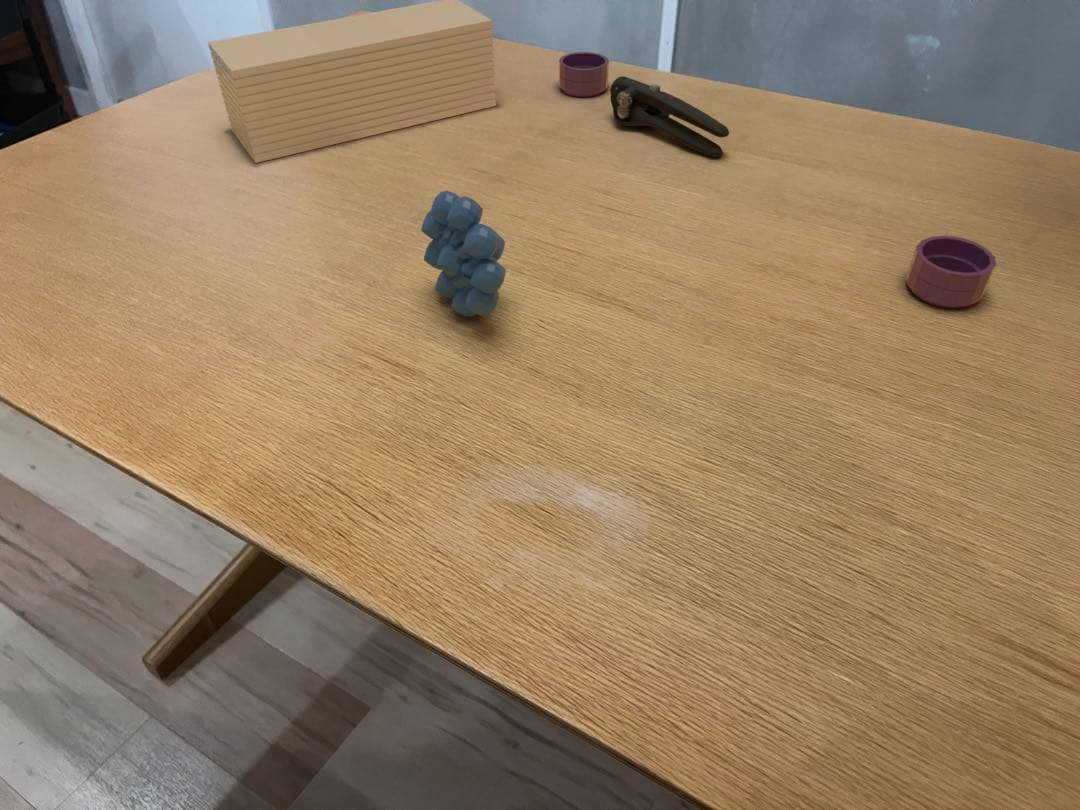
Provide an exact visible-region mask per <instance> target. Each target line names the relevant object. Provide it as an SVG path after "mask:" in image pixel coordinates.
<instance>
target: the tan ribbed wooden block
mask: <svg viewBox="0 0 1080 810" xmlns="http://www.w3.org/2000/svg"><path fill="white" fill-rule="evenodd" d="M492 28H493V20H492V19H491V18H489V17H488V16H486V15H484V14H482V13H481V12H479V11H477V10H476V9H474V8H472V7H470V6H469V5H467V4H466V3H463V2H462V1H460V0H435V1H429V2H424V3H417V4H412V5H407V6H402V7H395V8H390V9H385V10H379V11H373V12H368V13H362V14H357V15H351V16H346V17H340V18H335V19H330V20H323V21H317V22H312V23H308V24H307V23H306V24H301V25H296V26H295V25H294V26H289V27H286V28H278V29H274V30H273V29H272V30H268V31H263V32H257V33H250V34H245V35H241V36H234V37H229V38H224V39H223V38H222V39H217V40H212V41H207V44H208V48H209V51H210V55H211V59H212V63H213V66H214V70H215V74H216V77H217V81H218V84H219V89H220V91H221V96H222V99H223V104H224V107H225V110H226V114H227V117H228V121H229V126H230V129H231V131H232V133H233V135H235V137H236V138H237V140H238V141H239V143H241V146H242V147H243V148H244V149H245V151H246V153H248V155H249V156H250V158H251V159H252V160H253V162H254V163H255V164H257V163H261V162H265V161H270V160H275V159H279V158H282V157H287V156H290V155H295V154H299V153H304V152H309V151H312V150H316V149H320V148H324V147H329V146H333V145H338V144H341V143H345V142H350V141H354V140H359V139H362V138H367V137H371V136H375V135H376V136H377V135H380V134H384V133H387V132H391V131H392V132H393V131H396V130H400V129H405V128H408V127H413V126H417V125H421V124H425V123H430V122H433V121H434V122H435V121H438V120H443V119H445V118H446V119H447V118H450V117H454V116H459V115H463V114H467V113H471V112H476V111H479V110H485V109H488V108H492V107H497V99H496V98H497V97H496V77H495V73H496V72H495V61H494V60H495V55H494V54H495V53H494V45H493V44H494V37H493V35H494V34H493V33H494V32H493V31H494V30H493V29H492Z"/></svg>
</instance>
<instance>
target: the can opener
mask: <svg viewBox="0 0 1080 810" xmlns="http://www.w3.org/2000/svg"><path fill="white" fill-rule="evenodd" d="M609 90H610V103H611V107H612V115H613V118H614V120H615V122H617V123H618V124H620V125H623V126H627V127H646V126H647V127H653V128H655V129H657V130H660V131H661V132H663V133H664V134H666V135H668V136H669V137H671V138H673V139H674V140H676V141H678V142H679V143H681V144H682V145H684V146H685V147H688V148H689V149H692V150H693V151H696V152H698V153H701V154H703V155H706V156H709V157H713V158H716V157H719V156H721V155H723V152H724V151H723V148H722V147H721V146H720V144H718V143H716V142H714V141H713V140H711V139H709V138H707V137H706V136H704V135H702V134H700V133H699V132H697V131H696V130H693V129H691V128H690V127H688V126H687V125H684V124H682V123H681V122H679V121H677V120H676V119H680V120H681V121H684V122H686V123H688V124H690V125H692V126H694V127H696V128H698V129H700V130H703V131H704V132H706V133H709V134H710V135H712V136H715V137H717V138H727V137H728V136H729V135H730V131H729V128H728V127H727V126H726V125H724V124H723V123H721V122H720V121H719V120H717V119H715V117H712V116H711V115H709V114H708V113H705V111H703V110H701V109H699V108H697V107H695V106H693V105H691V104H690V103H688V102H686V101H685V100H682V99H681V98H679V97H677V96H674V95H673V94H670V93H669V92H666V91H662V90H661V86H660V85H658V84H655V83H654V84H650V85H649V84H647V83H644V82H642V81H638V80H637V79H633V78H630V77H627V76H618V77H617V78H615V79H614V80H613V82H612V83H611V86H610V89H609ZM670 116H672V117H674V118H676V119H673V118H671V117H670Z"/></svg>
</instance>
